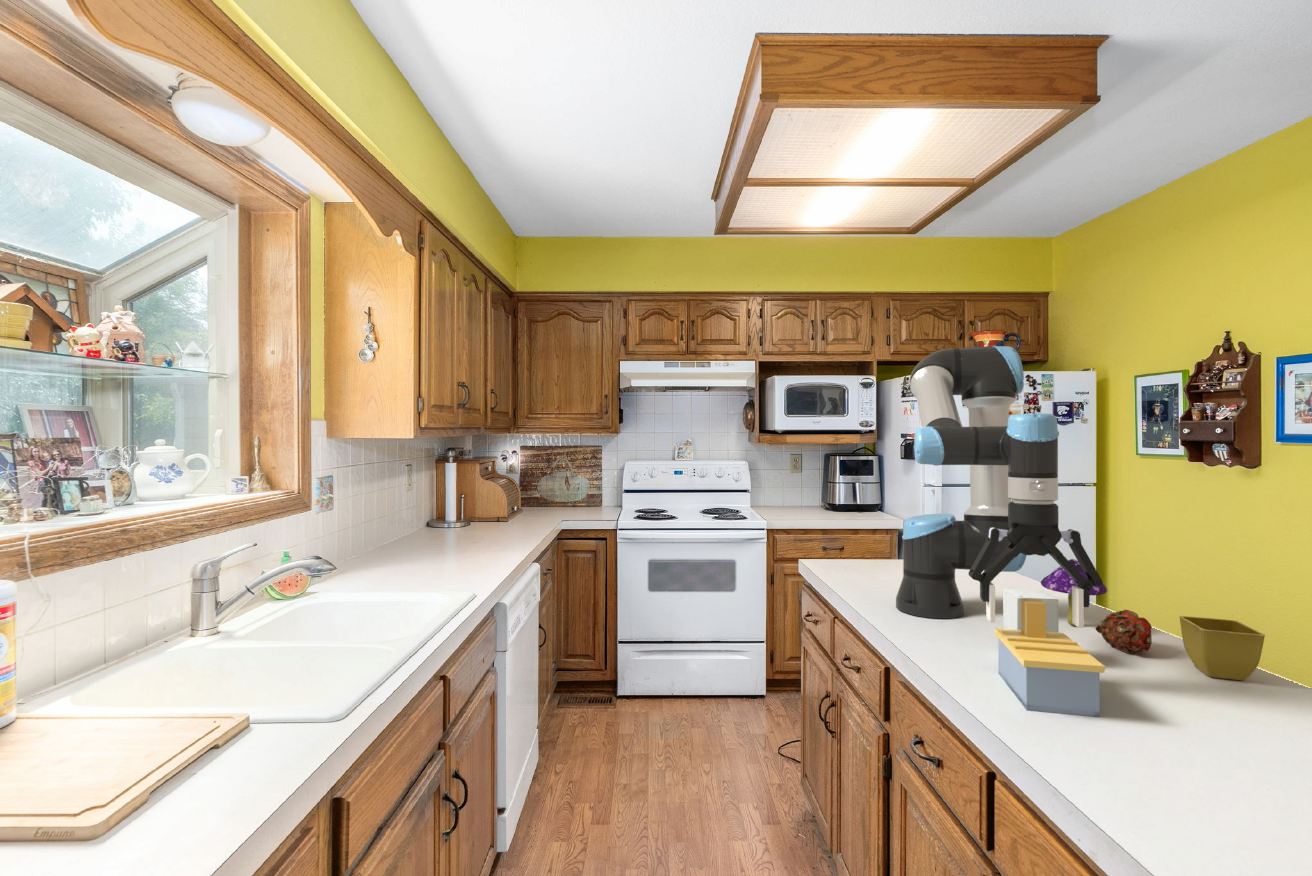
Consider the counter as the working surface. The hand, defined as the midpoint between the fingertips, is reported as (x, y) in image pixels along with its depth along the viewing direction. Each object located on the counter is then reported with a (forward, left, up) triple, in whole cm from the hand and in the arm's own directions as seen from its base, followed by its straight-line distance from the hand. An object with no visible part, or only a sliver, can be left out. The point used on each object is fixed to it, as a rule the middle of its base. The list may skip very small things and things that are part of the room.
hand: (1033, 622), depth 107 cm
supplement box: (-12, +3, -11) cm, 16 cm away
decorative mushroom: (-36, +19, -10) cm, 42 cm away
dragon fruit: (-22, +23, -11) cm, 33 cm away
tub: (+5, 0, -10) cm, 11 cm away
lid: (+5, 0, -3) cm, 6 cm away
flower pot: (-11, +33, -11) cm, 36 cm away
